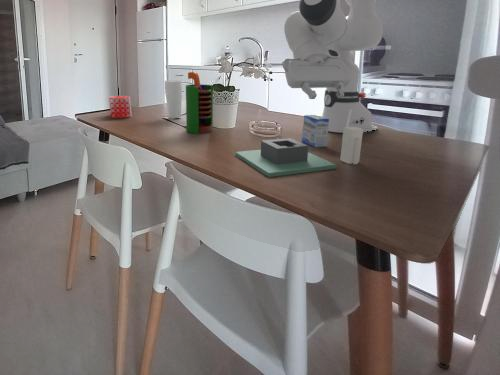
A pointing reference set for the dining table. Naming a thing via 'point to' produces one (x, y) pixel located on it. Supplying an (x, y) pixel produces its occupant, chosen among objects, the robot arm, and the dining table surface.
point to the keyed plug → (351, 145)
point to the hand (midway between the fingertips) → (327, 97)
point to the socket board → (284, 158)
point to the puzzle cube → (120, 106)
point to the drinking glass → (173, 97)
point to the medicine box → (315, 130)
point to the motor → (199, 106)
